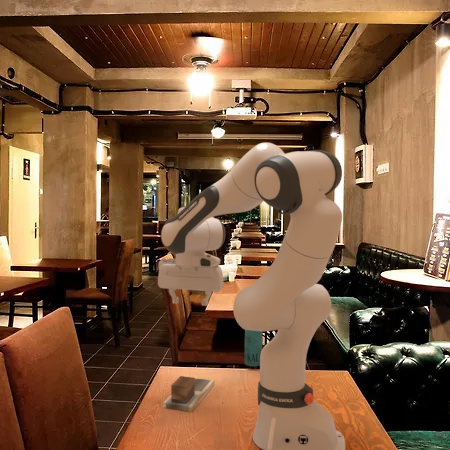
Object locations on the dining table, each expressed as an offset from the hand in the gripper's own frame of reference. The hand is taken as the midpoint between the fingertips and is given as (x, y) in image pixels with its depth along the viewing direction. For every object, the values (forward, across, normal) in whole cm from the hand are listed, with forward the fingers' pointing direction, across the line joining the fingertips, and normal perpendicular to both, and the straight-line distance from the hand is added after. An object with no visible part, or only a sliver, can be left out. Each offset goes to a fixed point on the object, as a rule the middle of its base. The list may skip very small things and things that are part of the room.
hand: (190, 304), depth 136 cm
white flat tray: (+28, 0, -1) cm, 28 cm away
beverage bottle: (+28, +14, +28) cm, 42 cm away
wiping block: (+26, 0, -6) cm, 27 cm away
